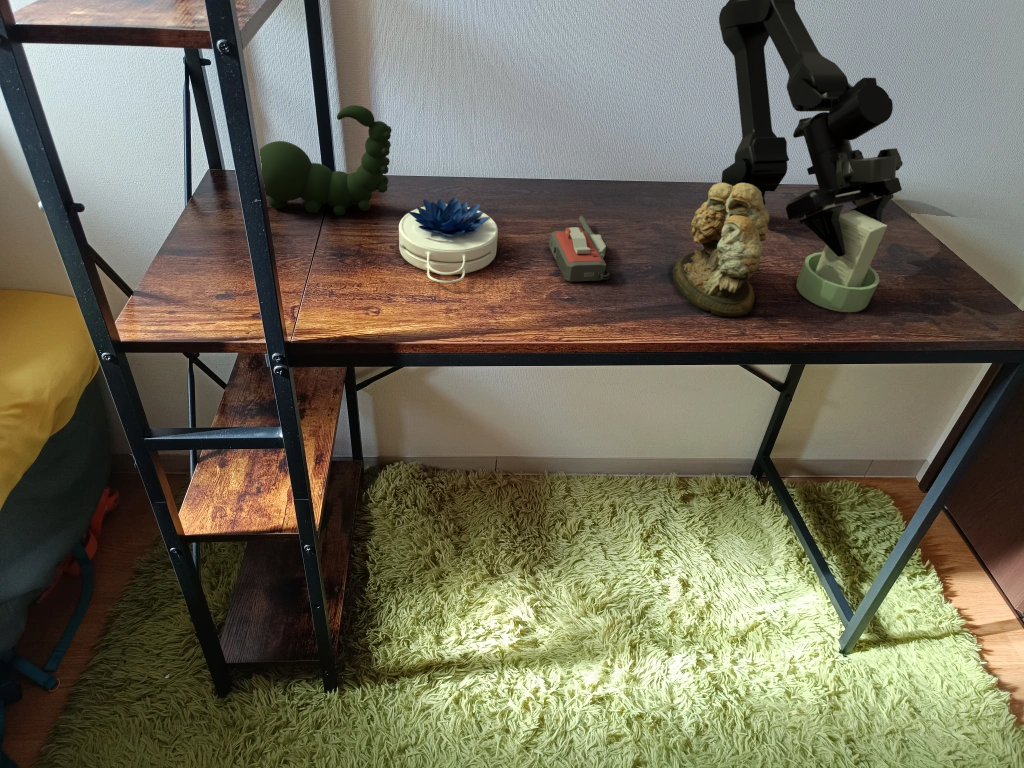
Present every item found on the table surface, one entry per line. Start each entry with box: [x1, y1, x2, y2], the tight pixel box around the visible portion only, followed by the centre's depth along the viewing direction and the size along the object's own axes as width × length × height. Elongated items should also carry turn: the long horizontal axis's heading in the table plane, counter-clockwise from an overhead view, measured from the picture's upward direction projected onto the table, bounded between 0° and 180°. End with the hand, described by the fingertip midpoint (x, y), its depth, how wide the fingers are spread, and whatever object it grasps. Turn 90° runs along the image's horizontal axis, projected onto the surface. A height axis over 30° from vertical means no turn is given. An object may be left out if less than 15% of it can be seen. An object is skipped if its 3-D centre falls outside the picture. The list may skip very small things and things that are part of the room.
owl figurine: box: [672, 182, 770, 318], centre depth 104 cm, size 18×12×17 cm, turn 11°
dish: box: [795, 251, 880, 313], centre depth 110 cm, size 11×11×4 cm
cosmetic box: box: [815, 209, 888, 288], centre depth 107 cm, size 6×4×12 cm
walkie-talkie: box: [549, 215, 610, 283], centre depth 113 cm, size 9×4×20 cm
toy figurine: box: [259, 104, 393, 217], centre depth 114 cm, size 9×19×25 cm
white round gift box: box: [398, 197, 499, 284], centre depth 108 cm, size 7×16×20 cm
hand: (859, 251), depth 105 cm, fingers open, 7 cm apart
